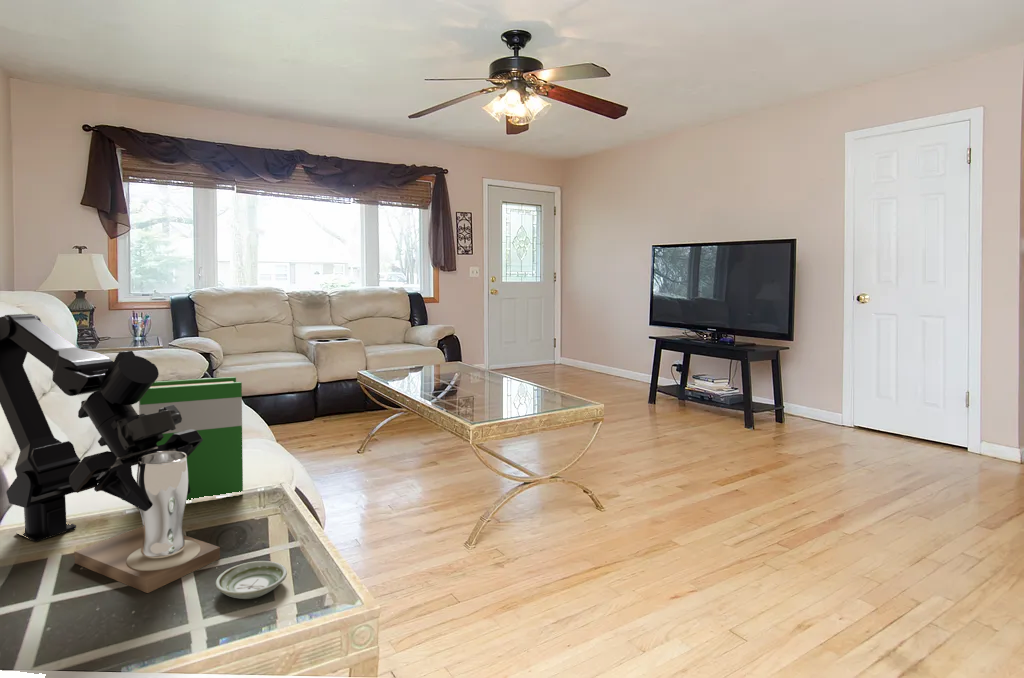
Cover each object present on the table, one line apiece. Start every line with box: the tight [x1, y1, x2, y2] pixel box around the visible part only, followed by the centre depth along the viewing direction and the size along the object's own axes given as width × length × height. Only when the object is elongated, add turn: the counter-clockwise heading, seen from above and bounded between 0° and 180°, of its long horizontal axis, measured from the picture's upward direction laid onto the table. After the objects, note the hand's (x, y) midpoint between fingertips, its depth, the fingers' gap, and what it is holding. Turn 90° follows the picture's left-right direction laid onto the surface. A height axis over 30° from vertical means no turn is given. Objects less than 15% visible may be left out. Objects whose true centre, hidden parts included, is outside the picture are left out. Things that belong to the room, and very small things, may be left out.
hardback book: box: [138, 376, 244, 500], centre depth 120 cm, size 18×7×24 cm, turn 124°
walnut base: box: [74, 525, 221, 594], centre depth 94 cm, size 18×12×2 cm, turn 65°
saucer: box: [215, 560, 288, 600], centre depth 87 cm, size 10×10×2 cm
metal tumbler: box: [136, 451, 189, 558], centre depth 92 cm, size 7×7×15 cm
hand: (168, 501), depth 91 cm, fingers closed on metal tumbler, 6 cm apart
